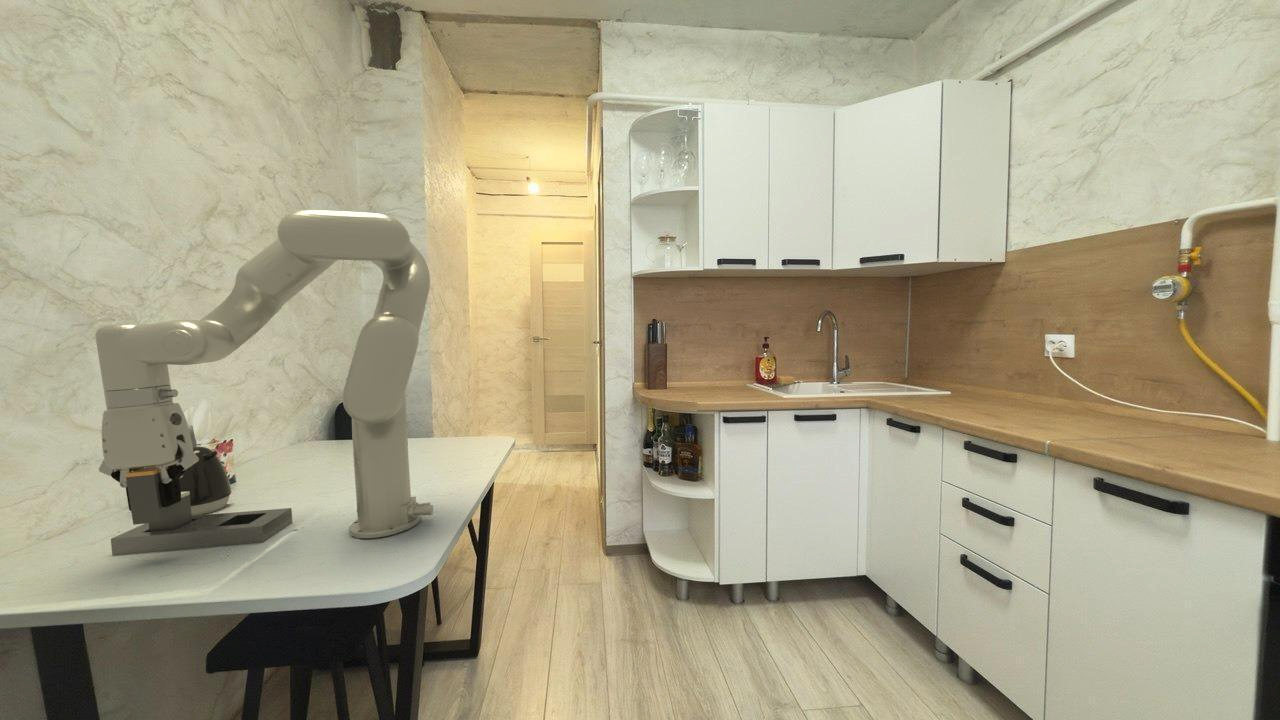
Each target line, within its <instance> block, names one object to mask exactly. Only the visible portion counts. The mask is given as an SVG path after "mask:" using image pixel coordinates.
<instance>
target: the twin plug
mask: <svg viewBox="0 0 1280 720" xmlns="http://www.w3.org/2000/svg"><path fill="white" fill-rule="evenodd" d="M180 509H181V512H180V513H178V514H176V515H174V516H172V517H170V518H168V519H166V520H163V521H161V522H154V523H149V531H150V532H156V531H168V530H176V529H178V528H180V527H182V526H184V525H186V524H188V523H190V522H192V514H191V503H190V493H189V491H188V492H181V501H180Z"/></svg>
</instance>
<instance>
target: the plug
mask: <svg viewBox="0 0 1280 720" xmlns="http://www.w3.org/2000/svg"><path fill="white" fill-rule="evenodd" d="M168 469H169V471H170V468H169V466H168ZM125 475H126V481H127V487H128V494H129V500H130V507H131V511H130V512H131V513H130V514H131V519H132V525H133V526H135V525H143V524H145V523H154V522H161V521H163V520H166V519H168V518H170V517H172V516H174V515H176V514H178V513H180V512H181V509H180V502H177V503H175V504H173V505H171V506H168V507H162V505H161V498H160V492H159V484H162V483H163V482H162V481H161V478H160V475H159V473H158V470H157V467H156V466H153V467H144V468H141V469H138V470H135V471H131V472H129V473H126V474H125Z"/></svg>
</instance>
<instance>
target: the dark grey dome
mask: <svg viewBox="0 0 1280 720" xmlns="http://www.w3.org/2000/svg"><path fill="white" fill-rule="evenodd" d="M193 452H194V453H195V454H196V455H197V457H198V458H199V461H198V462H196V463H195V464H193V465H192V466H191V467H189V468H188V469H187V470H186V472H185V473H184V474H183V477H182V478H180V479H179V483H180V490H181V492H188V491H189V493H190V503H191V514H192V516H196V515H208V514H212V513H214V512H216V511H219V510H222V509H223V508H225V506H227V504H228V502H229V500H230V495H232V487H231V483H230V480H229V475H228V474H227V471H226V470H225V467H224V465H223V463H222V461H221V460H220V459H219V457H218V451H217V450H212V449H210V448H208V447H206V446H196V447H193ZM178 462H179V464H180V463H181V462H182V459H179V460H178Z"/></svg>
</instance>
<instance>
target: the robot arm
mask: <svg viewBox="0 0 1280 720" xmlns="http://www.w3.org/2000/svg"><path fill="white" fill-rule="evenodd" d="M338 261H370V262H371V263H373V264H374V265H375V266H377V267H378V268H379V269H380V270H381V272H382V275H383V279H382V284H381V287H380V289H379V294H378V299H377V303H376V305H375V309H374V312H373V316H372V318H371V319H369V320H368V321H367V322H366V323H365V324H364V325H363V327H361V328H362V329H361V331H360V332H359V335H358V338H357V341H356V345H355V349H354V352H353V355H352V359H351V362H350V365H349V370H348V373H347V376H346V380H345V384H344V387H343V392H342V404H343V408H344V410H345V412H346V413H347V414H348V415H349V417H351V433H352V435H351V437H352V457H353V470H354V482H355V485H354V486H355V498H356V500H355V501H356V513H357V514H356V515H357V519H355V520H354V521H352V523H350V525H349V527H348V529H349V530H348V531H349V532H348V533H349V535H350V536H352V537H353V538H357V539H376V538H384V537H388V536H392V535H395V534H396V535H397V534H399V533H402V532H404V531H406V530H409V529H412V528H413V527H416V525H418V523H420V521H421V520H422V519H421V517H422V516H423V517H424V516H432V515H433V514H434V505H433V504H431V502H422V503H421V502H420V503H419V502H417V496H412V492H411V477H410V464H409V463H410V462H409V442H408V441H409V439H408V438H409V437H408V425H407V424H408V423H407V404H406V403H407V398H406V390H407V387H408V386H407V385H408V383H409V379H410V376H411V372H412V368H413V365H414V361H415V358H416V356H417V355H416V354H417V351H418V347H419V340H420V337H419V335H420V329H421V325H422V322H423V319H424V313H425V310H426V305H427V301H428V298H429V294H430V293H429V292H430V288H431V287H430V286H431V275H430V270H429V267H428V264H427V261H426V260H425V257H424V256H423V254H422V253H421V251H420V250H419V249H418V248H417V247H416V246H415V245H414V244H413V242H412V241H411V239H410V235H409V232H408V230H407V228H406V227H405V225H404V224H403V223H402V222H401V221H399V220H398V219H396V218H395V217H393V216H390V215H388V214H385V213H378V212H368V211H367V212H366V211H365V212H364V211H343V210H330V209H329V210H326V209H325V210H324V209H299V210H295V211H292V212H290V213H288V214H287V215H285V216H284V217H283V218H282V219H281V220H280V221H279V224H278V227H277V239H276V240H274V241H273V242H272V243H271V244H269V245H268V246H266V247H265V248H264V249H263V250H261V251H260V252H259V253H257V254H256V255H255V256H254V257H252V258H251V259H250V260H248V261H247V262H246V263H244V264H243V265H242V266H240V268H239V269H238V270H237V272H236V275H235V282H234V285H233V288H232V291H231V292H230V293H229V294H228V296H227V297H226V298H225V299H224V300H223V301H222V302H221V303H220V304H219V305H218V306H217V307H215V308H214V309H213V310H212V311H211V312H209V313H208V314H207V315H205V316H204V317H202V318H201V319H200V320H194V319H192V320H191V319H179V320H169V321H165V322H157V323H124V324H123V323H121V324H119V323H117V324H109V325H103V326H101V327H99V328H98V329H97V330H96V331H95V343H96V349H97V355H98V361H99V368H100V374H101V382H102V388H103V394H104V400H105V406H106V410H103V413H102V422H101V447H102V455H103V456H102V457H103V460H102V462H101V464H100V465H99V466H98V472H99V473H102V474H104V475H107V476H109V477H111V478H112V479H113V480H115V481H117V482H118V483H119V486H120V487H121V488H123V489H125V493H126V497H127V498H126V499H127V504H128V510H129V511H130V512H131V507H130V500H129V494H128V487H127V481H126V475H125V474H126V473H129V472H132V471H135V470H138V469H141V468H144V467H153V466H156V467H157V470H158V473H159V475H160V478H161V481H162V482H163V483H162V484H159V492H160V498H161V505H162V507H168V506H171V505H173V504H175V503H177V502H180V501H181V490H180V483H179V479H180V478H182V477H183V474H184V473H185V472H186V470H187V469H188V468H189V467H191V466H192V465H193V464H195V463H196V462H198V461H199V458H198V457H197V455H196V454H195V453H194V452H193V445H192V440H191V436H190V431H189V428H188V424H189V423H188V422H187V418H186V416H185V413H184V411H183V409H182V406H181V405H180V403H179V402H174V399H173V398H176V397H178V395H179V391H178V390H177V389H176V388H175V389H174V388H173V389H172V387H171V386H172V385H171V380H170V373H169V365H175V366H177V365H178V366H190V365H191V366H192V365H198V364H207V363H213V362H218V361H220V360H222V359H224V358H226V357H229V356H230V355H231V354H233V353H234V352H235V351H236V350H238V349H239V348H240V347H242V345H244V344H245V343H246V342H247V341H249V340H250V339H251V338H253V337H254V336H255V335H256V334H257V333H258V332H259V331H261V330H262V328H263V327H264V326H266V325H267V324H268V323H269V321H270V320H271V319H272V318H273V317H275V315H276V314H278V313H279V311H280V310H281V309H282V308H283V307H284V305H285V304H287V303H288V301H290V300H291V299H293V298H294V296H296V295H297V294H299V292H302V290H304V288H305V287H307V286H308V285H309V284H310V283H312V282H313V281H314V280H315V279H317V278H318V277H319V276H321V274H323V273H324V272H325V271H326V270H328V269H329V268H330V267H332V265H334V264H335V263H336V262H338ZM179 459H182V462H181V463H180V464H179V462H178V460H179ZM168 466H169V468H170V471H169V469H168Z"/></svg>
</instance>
